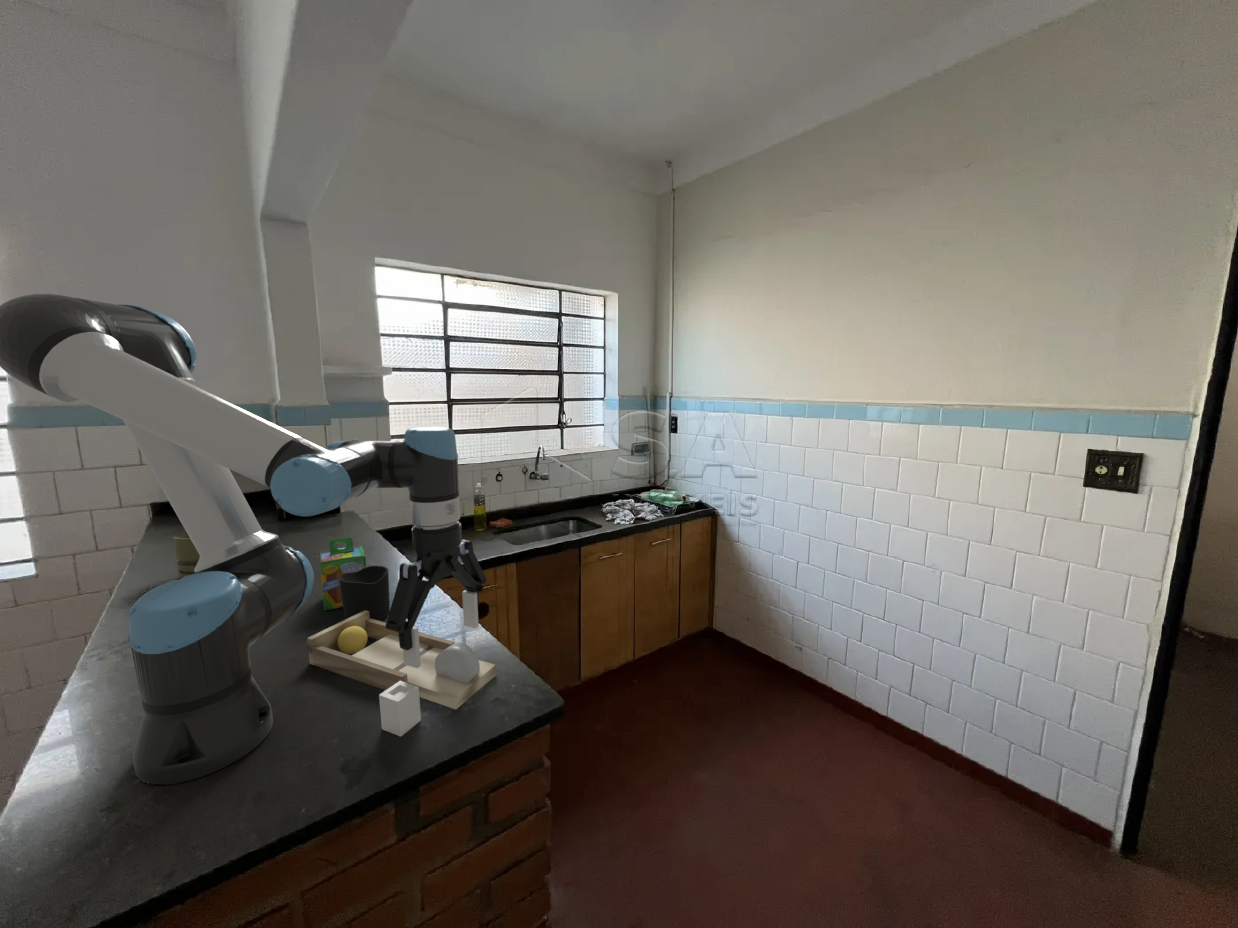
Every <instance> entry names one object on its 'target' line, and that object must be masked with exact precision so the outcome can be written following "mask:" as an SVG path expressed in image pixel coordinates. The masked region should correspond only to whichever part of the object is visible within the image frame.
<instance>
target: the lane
mask: <svg viewBox="0 0 1238 928" xmlns="http://www.w3.org/2000/svg"><path fill="white" fill-rule="evenodd" d="M351 626H358V627H361V628H363V629H364V630H365V631H366V633H367V638H370V639H374V640H376V641H375V642H373V643H371V644H370V645H368V646H366V647H364V648H363V649H362V650H361V651H359V652H357V653H354V654H346V653H343V652H342V651H341V650H340V649H339V647H338V644H337V641H338V637H339V635H340V633H341V632H342V631H343V630H345V629H346V628H348V627H351ZM385 626H386V622H384V621H378V620H374V619H370V616H369V611H366V610H364V611H362V612H360V613H358V614H356V615H354V616H352V617H350V618H348V619H346V620H345V619H343V620H341V621H340V622H338V623H336V624H334V625H331V626H329V627H328V628H324V629H323V630H321V631H319V632H316V633H315V634H313V635H310V636H308V637H307V638H306V642H307V651H308V652H307V653H308V658H309V659H308V660H309V661H308V662H309V664H310V665H312V666H315V667H318V668H321V669H323V670H325V671H326V670H327V671H329V672H333V673H335V674H337V675H341V676H343V677H346V678H350V679H352V680H355V681H358V682H360V683H364V684H367V685H369V686H372V687H375V688H378V689H381V690H383V691H385V690H387V689H388V688H390V687H391V686H393V685H394V684H396V683H397V682H399V681H403V682H405V683H408V684H411V685H414V686H417V687H419V698H422V699H424V700H427V701H430V702H433V703H436V704H438V705H442V706H445V707H447V708H450V709H452V710H458V709H459V708H460V707H461V706H462V705H464V703H465V702H467V701H468V700H469V699H470V698H472V696H474V695H475V694H477V692H479V690H481V689H482V688H483V687H484V686H485V685H487V684H488V683H489V682H490V681H491V680H493V679H494V677H496V676H497V668H496V667H497V665H496V664H494V663H491V662H487V661H484V660H480V659H478V660H479V664H480V671H479V674H478V675H477V676H476V677H475V678H473V679H472V680H471V681H470V682H469V683H467V684H464V683H461V682H458V681H454V680H451V679H448V678H445V677H442V676H439V675H437V674H436V671H435V659H436V657H437V655H438V654H439V653H441V652H442V651H443V650H445V649H446V648H448V647H449V646H451V645H452V644H454V643H456V642H455V641H454V640H450V639H446V638H442V637H439V636H436V635H431V634H428V633H425V632H421V631H418V633H419V647H420V661H421V666H420V667H418V668H414V667H411V666H408V665H405V664H404V655H403V649H401V648H400V644H399V643H400V642H399V632H396V631H392V630H389V629H386V627H385Z"/></svg>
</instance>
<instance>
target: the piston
mask: <svg viewBox="0 0 1238 928" xmlns="http://www.w3.org/2000/svg"><path fill="white" fill-rule="evenodd" d="M173 547H174V552H175V558H176V560H177V562H176V565H177V569H178V570H177V571H178V576H179V579H182V578H183V577H184V576H188V575H192V574H196V573H195V572H194V569H195V567H196V565H197V563H198V561H199V558H200V555H199V553H198V551H197V549H196V548H195V546H194V544H193V542H192V541H191V539H190V537H189V535H188V534H187V532H186V530H185V529H184V534H183V536H182V537H179V536H178V537H177V536H173Z"/></svg>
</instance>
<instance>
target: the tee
mask: <svg viewBox="0 0 1238 928" xmlns="http://www.w3.org/2000/svg"><path fill="white" fill-rule="evenodd" d="M378 700H379V711H380V713H379V714H380V723H381V729H382V730H383V731H386V732H388V733H390V734H393V735H396V736H398V737H402V736H404V735H405V734H406V733H407V732H409V731H410V730H412V729H413V727H415V726H416V725H417V724H418V723H420V722H421V721H422V716H421V702H420V697H419V687H417V686H414V685H411V684H408V683H405V682H403V681H399V682H397V683H396V684H394V685H393V686H391V687H390V688H388V689H387V690H383V692H381V693H379V695H378Z"/></svg>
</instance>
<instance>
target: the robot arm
mask: <svg viewBox="0 0 1238 928" xmlns="http://www.w3.org/2000/svg"><path fill="white" fill-rule="evenodd" d="M197 359H198V354H197V349H196V346H195V343H194V341H193V339H192V337H191V336H190V334H189V333H188V332H187V330H186V329H185V328H184V327H183V326H182V325H181V324H179V323H178V322H177V321H176V320H174V319H173V318H171V317H170V316H168V315H165V314H163V313H160V312H157V311H153V310H149V309H147V308H144V307H141V306H137V305H134V304H133V305H132V304H131V305H130V304H115V303H109V302H105V301H104V302H103V301H97V300H92V299H84V298H79V297H78V298H77V297H72V296H68V295H62V294H53V293H35V294H26V295H22V296H17V297H15V298H12V299H9V300H8V301H5V302H3V303H2V304H0V368H1V369H2V370H3V371H4V372H6V373H7V374H8V375H10V376H11V377H12V378H14V379H16V380H18V382H20V383H22V384H24V385H25V386H28V387H30V388H32V389H34V390H36V391H38V392H41V393H42V394H45V395H47V396H49V397H51V398H54V399H56V400H59V401H61V402H66V403H79V402H83V403H85V404H87V405H90V406H91V407H94V408H96V409H99V410H101V411H102V412H105V413H107V414H109V415H112V416H114V417H115V418H117V419H120V420H122V421H123V423H124V425H125V427H126V429H127V430H128V431H129V433H130V435H131V437H132V440H133V441H134V442H135V445H136V446H137V448H138V449H139V450H140V453H141V454H142V456H143V458H144V460H145V462H146V463H147V465H148V467H149V469H150V470H151V472H152V474H153V475H154V477H155V479H156V481H157V483H158V484H159V486H160V488H161V490H162V492H163V493H164V495H165V497H166V498H167V500H168V502H169V504H170V506H171V507H172V509H173V511H174V512H175V514H176V516H177V518H178V519H179V521H180V523H181V526H183V529H184V531H185V530H186V532H187V534H188V535H189V537H190V539H191V541H192V542H193V544H194V546H195V548H196V549H197V551H198V553H199V555H200V558H199V561H198V563H197V565H196V567H195V569H194V572H195V573H196V574H192V575H188V576H184V577H183V578H182V579H180V578H179V579H172V580H169V581H166V582H164V583H162V584H160V585H157V586H155V587H154V588H152V589H150V590H148V591H147V592H145V593H144V594H142V595H141V596H140V597H139V598H138V599H137V600H136V601H135V602H134V603H133V605H132V606H131V607H130V610H129V612H128V616H127V619H128V627H129V628H128V636H127V640H128V644H129V646H130V649H131V653H132V660H133V664H134V667H135V668H134V669H135V674H136V679H137V683H138V684H137V685H138V689H139V694H140V700H141V705H142V710H143V711H142V712H143V713H142V717H141V721H140V725H139V728H138V733H137V736H136V740H135V744H134V747H133V752H132V765H133V769H134V770H133V771H134V775H135V774H136V775H135V777H136V776H137V777H138V778H139V779H140V780H143V781H145V782H149V783H152V784H151V785H153V784H158V785H157V786H162V785H163V784H165V785H174V784H179V783H185V782H190V781H193V780H196V779H199V778H203V777H205V776H207V775H210V774H212V773H215V772H217V771H219V770H222V769H224V768H226V767H227V766H230V765H231V764H233V763H235V762H237V761H238V760H239V761H240V759H242V758H244V757H245V756H246V755H248V754H249V753H251V752H252V751H253V750H254V749H256V748H257V747H258V746H259V745H260V744H261V743H263V741H264V740H265V739H266V738H267V737H268V735H269V734H270V732H271V730H272V728H273V724H274V717H273V709H272V705H271V703H270V702H269V701H270V700H268V699H267V697H266V696H265V694H264V692H263V691H262V689H261V688H260V686H259V685H258V682H256V679H254V677H253V672H252V664H251V659H250V658H251V657H250V647H251V646H252V645H254V644H255V643H256V642H257V641H258V640H260V639H261V638H263V637H264V636H265V635H267V634H268V633H269V632H271V631H272V630H273V629H274V628H275V627H277V626H278V625H279V624H281V623H282V622H283V621H284V622H285V621H287V620H288V619H289V618H291V617H292V616H293V615H294V614H295V613H297V611H298V610H300V607H302V606H303V605H304V604H305V603H306V602H307V600H308V598H309V597H310V595H311V594H312V592H313V589H314V584H315V583H314V582H315V574H314V570H313V566H312V565H311V562H310V561H309V559H308V558H307V557H306V556H305V554H303V552H301V551H299V550H295V549H294V548H293V547H291V546H287V545H284V544H283V542H282V541H281V539H280V537H279V535H278V534H276V533H272V532H268V531H265V530H264V529H262V527H261V525H260V523H259V521H258V519H257V518H256V516H255V513H254V512H253V510H252V508H251V507H250V505H249V503H248V501H247V499H246V497H245V495H244V494H243V492H242V490H241V488H240V486H239V484H238V482H237V481H236V479H235V477H234V475H233V473H232V472H231V471H233V472H236V473H238V474H240V475H241V476H244V477H246V478H248V479H251V480H252V481H255V482H257V483H259V484H262V485H263V486H266V487H268V488H270V491H271V495H272V497H273V499H274V501H276V502H277V504H278V505H279V506H280V507H281V509H282V510H284V511H285V512H286V513H289V514H291V515H294V516H297V517H313V516H316V515H320V514H323V513H326V512H329V511H332V510H335V509H338V508H339V507H340V506H342V505H343V504H345V503H346V502H348V501H350V500H352V499H355V498H356V497H357V498H358V497H359V496H362V495H363V494H365V493H367V492H369V491H370V492H371V491H372V490H374V489H392V488H393V489H404V488H408V494H409V509H410V510H409V512H410V522H411V524H412V525H413V526H412V528H411V538H412V547H413V549H414V551H415V553H416V559H415V561H414V562H411V563H407V562H402V563H401V564H400V565H399V569H398V570H399V571H398V572H399V573H398V574H399V576H398V577H399V578H398V581H397V586H396V588H395V591H394V595H393V599H392V602H391V606H390V612H389V614H388V616H387V619H386V622H385V623H386V626H385V627H386V629H389V630H392V631H396V632H399V642H400V643H399V644H400V648H401V649H403V655H404V664H405V665H408V666H411V667H414V668H418V667H420V666H421V661H420V647H419V633H418V632H419V627H417V626H416V625H415V624H416V622H417V620H418V617H419V615H420V613H421V612H422V608H423V606H424V604H425V603H426V602H425V601H426V600H427V597H428V595H429V593H430V591H431V589H433V588H434V587H435V586H436V584H437V582H440V581H442V580H443V579H444V578H448V577H450V576H452V577H454V579H456V580H457V582H458V583H460V585H462V586H463V587H464V589H465V590H463V591H462V593H461V595H462V598H461V599H462V613H463V626H465V627H468V628H473V629H477V628H479V610H478V607H479V604H480V601H479V600H480V599H479V595H480V594H479V593H482V592H484V585H485V584H486V582H487V580H488V579H487V577H486V576H485V573H484V571H483V568H482V566H481V564H480V562H479V560H478V559H477V556H476V554H475V552H474V545H473V541H471V540H466V539H462V538H463V537H462V523H461V521H459V520H460V519H461V509H460V491H459V463H458V461H459V454H458V449H457V440H456V433H455V432H454V430H453V429H451V428H449V427H445V426H420V427H412V428H408V429H407V430H406V431H405V432H404V438H403V439H401V440H358V439H349V440H338V441H334V442H330V443H329V444H327V446H326V448H325V447H323V446H320V445H319V444H316V443H314V442H311V441H310V440H307V439H305V438H303V436H302V437H301V436H300V435H298V434H295V433H294V432H291V431H289V430H287V429H285V428H283V427H282V426H279V425H277V424H275V423H273V422H270V421H269V420H266V419H264V418H263V417H260V416H259V415H257V414H254V413H252V412H250V411H247V409H243V408H241V407H240V406H237V405H235V404H233V403H231V402H229V401H227V400H225V399H223V398H221V397H219V396H217V395H215V394H213V393H210V392H208V391H206V390H204V389H202V388H200V387H197V386H196V383H197V382H196V380H195V378H194V376H193V375H192V374H193V372H194V370H195V369H196V365H197V364H196V363H195V361H196V360H197ZM459 558H460V560H461V562H462V563H461V562H460V561H459ZM424 579H425V580H424ZM137 777H136V778H137ZM138 778H137V779H138ZM139 779H138V780H139ZM140 780H139V781H140ZM159 784H161V785H159ZM165 785H164V786H165Z"/></svg>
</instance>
